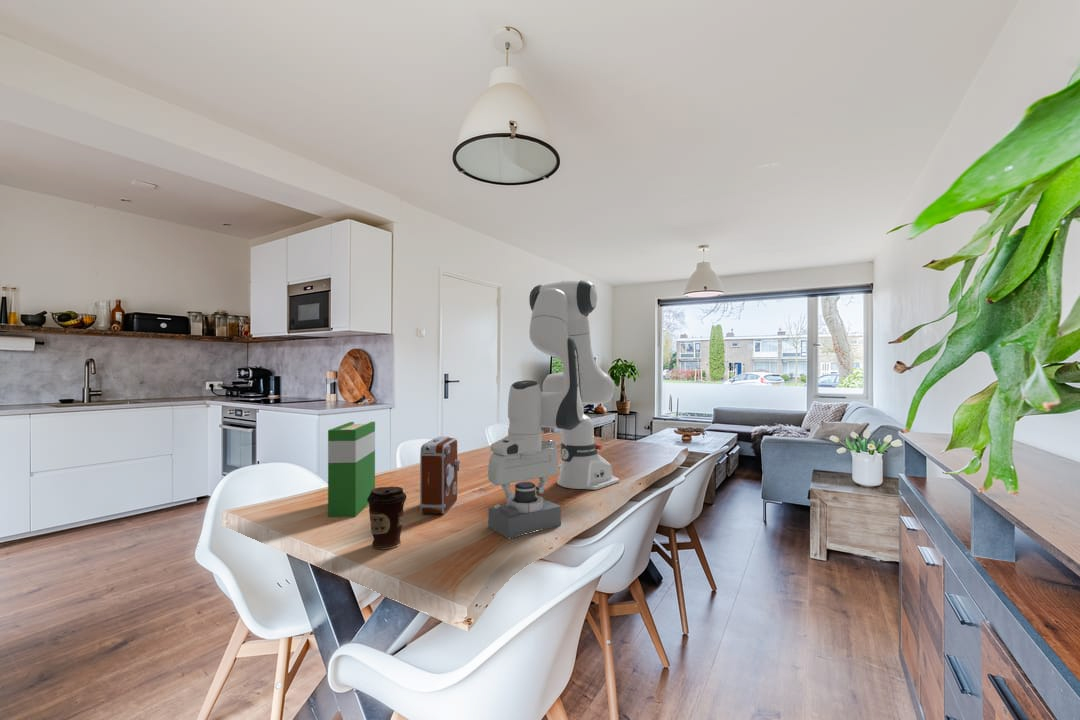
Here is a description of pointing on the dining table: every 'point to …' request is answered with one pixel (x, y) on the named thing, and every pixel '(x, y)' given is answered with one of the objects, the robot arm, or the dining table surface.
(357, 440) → the hardback book
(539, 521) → the camera body
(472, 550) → the dining table surface
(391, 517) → the coffee cup
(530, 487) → the lens
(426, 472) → the cine camera
